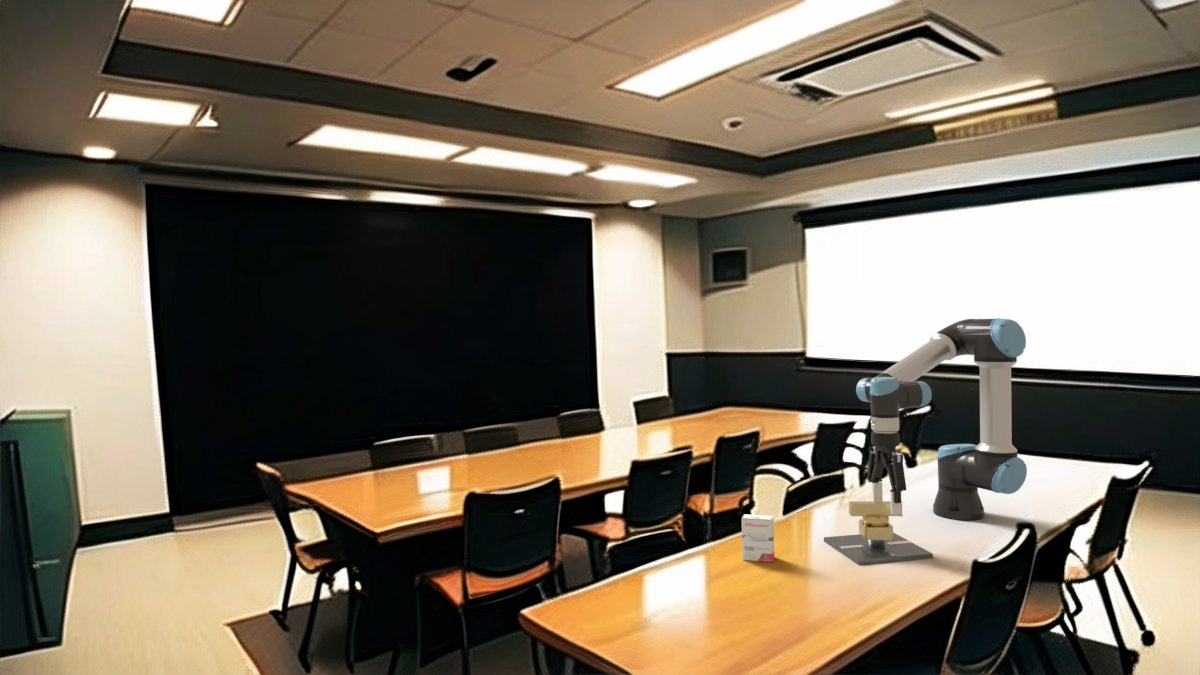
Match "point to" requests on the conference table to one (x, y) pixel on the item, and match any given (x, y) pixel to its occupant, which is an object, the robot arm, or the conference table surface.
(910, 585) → the conference table surface
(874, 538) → the collar
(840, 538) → the plate
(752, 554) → the ink box
